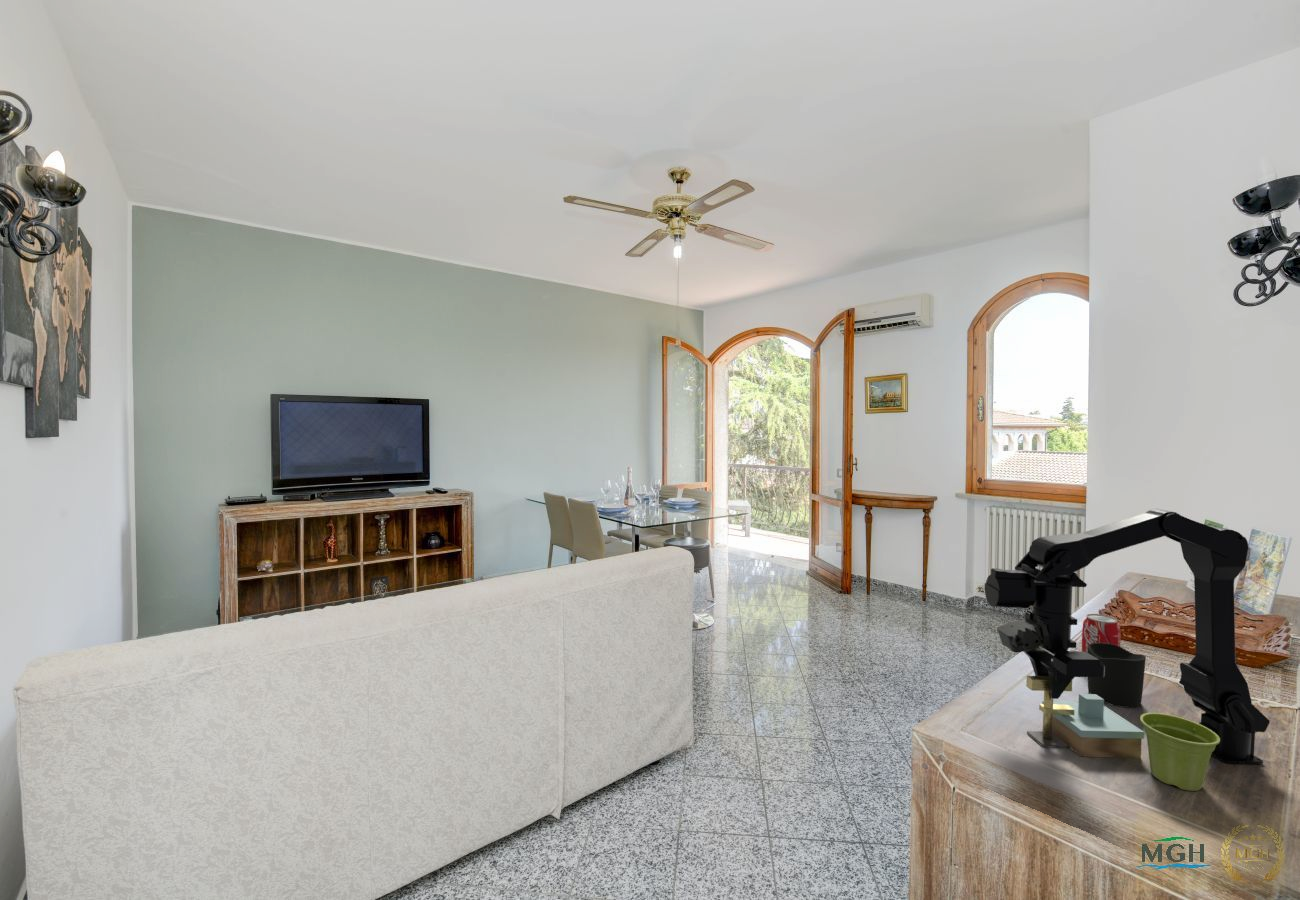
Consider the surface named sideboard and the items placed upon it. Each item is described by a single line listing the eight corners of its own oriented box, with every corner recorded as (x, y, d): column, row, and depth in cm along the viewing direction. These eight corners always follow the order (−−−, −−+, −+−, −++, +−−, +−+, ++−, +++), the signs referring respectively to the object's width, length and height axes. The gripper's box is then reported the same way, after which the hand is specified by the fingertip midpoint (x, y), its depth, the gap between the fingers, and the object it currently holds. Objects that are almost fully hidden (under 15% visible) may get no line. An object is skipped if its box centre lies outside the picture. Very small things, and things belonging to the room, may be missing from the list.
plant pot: (1176, 762, 97) (1178, 712, 97) (1234, 798, 88) (1237, 743, 87) (1122, 762, 97) (1125, 712, 96) (1175, 799, 87) (1178, 744, 87)
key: (1066, 735, 104) (1068, 676, 104) (1073, 740, 103) (1075, 680, 102) (1024, 734, 105) (1026, 675, 104) (1030, 739, 103) (1032, 679, 102)
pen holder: (1135, 693, 122) (1137, 647, 121) (1150, 713, 113) (1152, 664, 113) (1081, 684, 126) (1083, 639, 126) (1091, 702, 118) (1093, 655, 117)
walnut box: (1097, 727, 108) (1098, 708, 108) (1140, 757, 98) (1141, 738, 98) (1018, 725, 109) (1018, 707, 109) (1052, 755, 99) (1053, 736, 99)
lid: (1098, 708, 108) (1099, 684, 108) (1143, 738, 98) (1144, 711, 98) (1042, 707, 109) (1043, 683, 108) (1081, 737, 98) (1082, 710, 98)
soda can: (1073, 663, 137) (1075, 614, 136) (1095, 660, 139) (1096, 611, 138) (1104, 676, 130) (1106, 624, 129) (1126, 672, 132) (1128, 621, 131)
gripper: (978, 593, 112) (975, 671, 113) (1038, 626, 94) (1035, 719, 94) (1036, 593, 112) (1033, 672, 112) (1109, 627, 93) (1105, 721, 94)
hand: (1048, 694), depth 103 cm, fingers open, 3 cm apart
